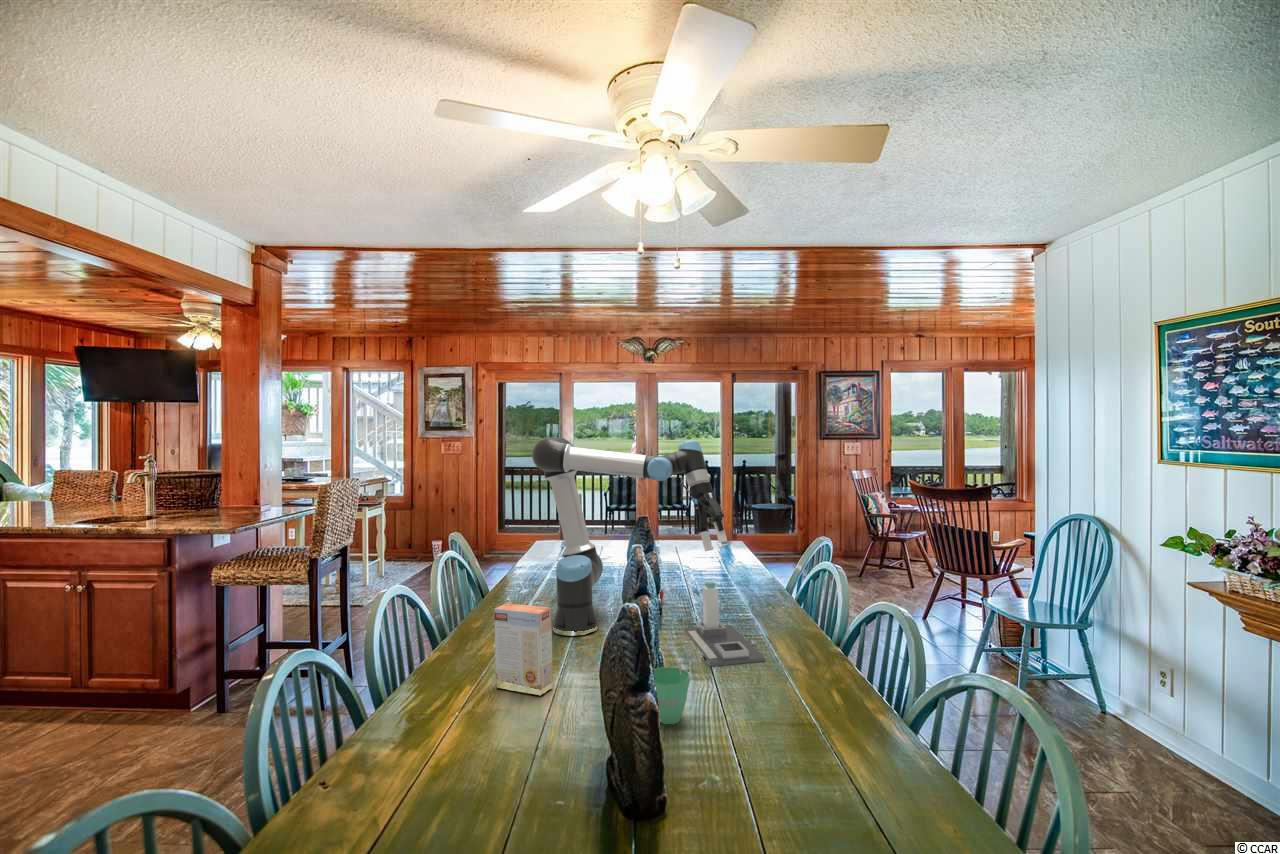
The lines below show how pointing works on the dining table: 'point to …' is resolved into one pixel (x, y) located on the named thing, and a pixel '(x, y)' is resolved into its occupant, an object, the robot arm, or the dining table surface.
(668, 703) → the green cup
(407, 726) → the dining table surface
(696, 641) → the panel
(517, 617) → the cracker box
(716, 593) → the plug
